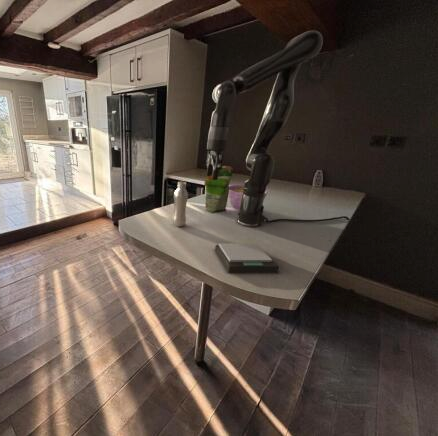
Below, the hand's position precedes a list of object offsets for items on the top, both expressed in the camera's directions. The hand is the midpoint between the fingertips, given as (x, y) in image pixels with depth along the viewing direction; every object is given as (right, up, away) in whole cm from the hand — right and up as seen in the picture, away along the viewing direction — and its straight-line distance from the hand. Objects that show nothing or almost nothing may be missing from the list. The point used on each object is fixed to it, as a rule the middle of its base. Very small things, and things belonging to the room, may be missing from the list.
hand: (211, 177), depth 101 cm
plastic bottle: (-14, -21, +6) cm, 26 cm away
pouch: (+8, -13, +26) cm, 31 cm away
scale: (+5, -33, -21) cm, 39 cm away
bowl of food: (+25, -13, +28) cm, 40 cm away
